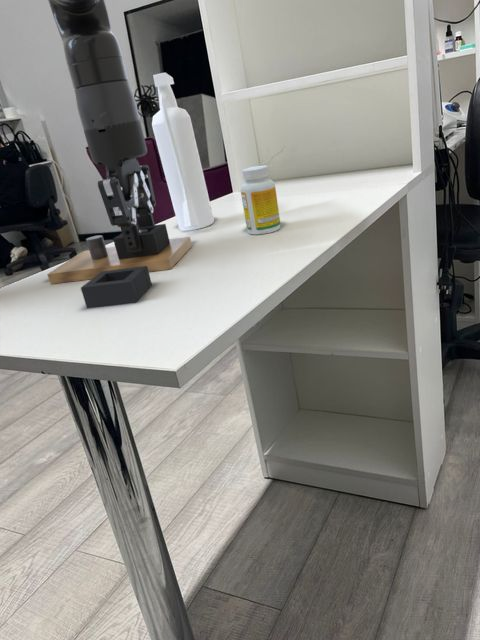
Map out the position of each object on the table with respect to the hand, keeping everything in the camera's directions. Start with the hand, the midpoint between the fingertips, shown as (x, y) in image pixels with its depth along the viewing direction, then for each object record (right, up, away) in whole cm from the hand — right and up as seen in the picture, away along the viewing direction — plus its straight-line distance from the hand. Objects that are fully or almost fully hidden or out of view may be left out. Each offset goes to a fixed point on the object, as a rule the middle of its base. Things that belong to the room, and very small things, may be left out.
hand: (143, 245), depth 79 cm
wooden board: (-3, -3, +2) cm, 4 cm away
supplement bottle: (+18, +4, +7) cm, 19 cm away
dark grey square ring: (+1, -9, -15) cm, 17 cm away
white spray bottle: (+5, +7, +18) cm, 20 cm away
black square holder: (0, -1, 0) cm, 1 cm away
